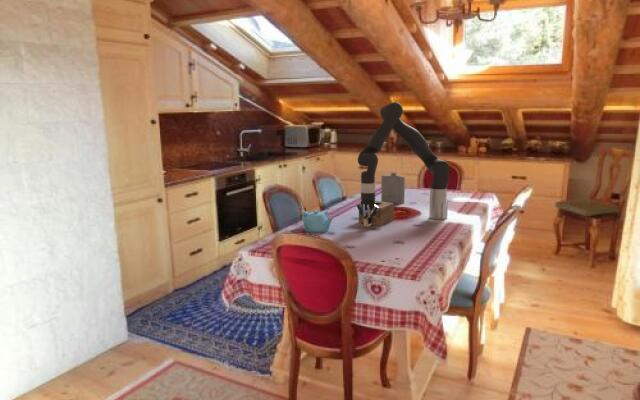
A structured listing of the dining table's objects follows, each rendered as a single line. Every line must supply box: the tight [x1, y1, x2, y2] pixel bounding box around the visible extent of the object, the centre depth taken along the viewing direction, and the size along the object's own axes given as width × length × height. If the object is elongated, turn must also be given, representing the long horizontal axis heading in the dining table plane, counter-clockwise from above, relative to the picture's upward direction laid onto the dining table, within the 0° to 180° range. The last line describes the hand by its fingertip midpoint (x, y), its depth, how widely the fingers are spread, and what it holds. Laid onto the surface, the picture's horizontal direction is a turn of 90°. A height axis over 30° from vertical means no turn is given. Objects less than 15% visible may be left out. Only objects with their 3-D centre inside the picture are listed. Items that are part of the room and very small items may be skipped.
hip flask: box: [380, 171, 406, 205], centre depth 314 cm, size 16×4×20 cm, turn 60°
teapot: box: [301, 209, 333, 234], centre depth 252 cm, size 15×15×11 cm
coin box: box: [358, 200, 395, 227], centre depth 267 cm, size 14×14×10 cm
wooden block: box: [363, 217, 373, 228], centre depth 253 cm, size 2×5×4 cm, turn 141°
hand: (368, 223), depth 253 cm, fingers closed on wooden block, 1 cm apart
